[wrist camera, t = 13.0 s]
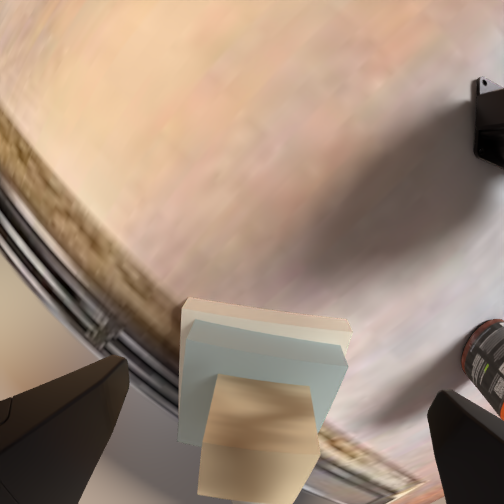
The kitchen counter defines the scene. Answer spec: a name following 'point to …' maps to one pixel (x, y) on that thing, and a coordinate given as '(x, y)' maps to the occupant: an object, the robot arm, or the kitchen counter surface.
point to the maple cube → (258, 441)
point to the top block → (252, 370)
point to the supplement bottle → (487, 362)
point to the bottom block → (262, 324)
